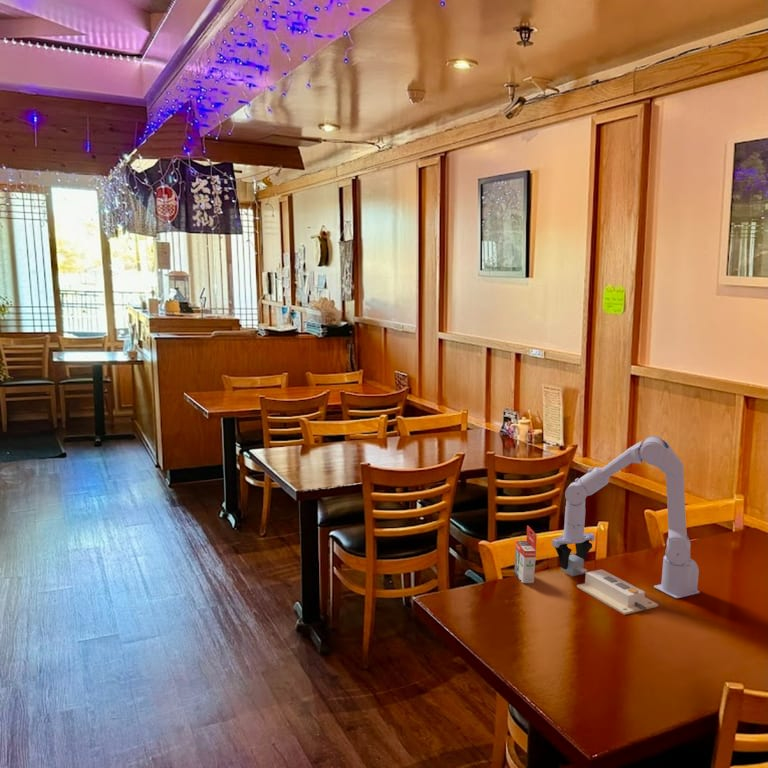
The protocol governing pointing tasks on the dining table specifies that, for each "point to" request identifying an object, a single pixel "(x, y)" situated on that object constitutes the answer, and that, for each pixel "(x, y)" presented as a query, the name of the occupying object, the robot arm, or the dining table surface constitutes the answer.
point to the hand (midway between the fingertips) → (571, 566)
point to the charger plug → (575, 566)
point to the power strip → (615, 592)
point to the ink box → (526, 557)
